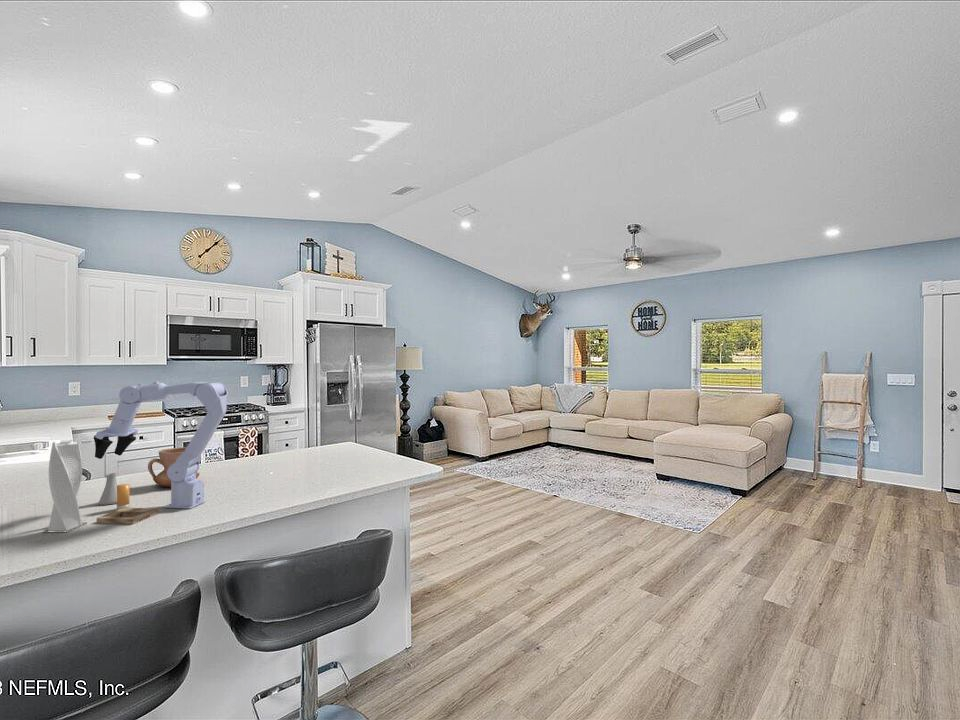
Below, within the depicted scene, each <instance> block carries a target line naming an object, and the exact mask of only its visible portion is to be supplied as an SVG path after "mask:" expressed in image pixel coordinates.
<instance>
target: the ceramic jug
mask: <svg viewBox="0 0 960 720" xmlns="http://www.w3.org/2000/svg"><path fill="white" fill-rule="evenodd" d="M186 448H187V446H185V447H184V446H183V447H174V448H164V449H161V450H158V457H159V458H153V459H151V460H150V461H148V463H147V470H148V472H149V474H150V476H151V477H152V481H154V483H155V484H156V485H158V486H160V487H164V488H171V479H170V478H169V477H168V475H167V470H168V468H169V466H170V465H172V464H173V463H175V462H176V460H177V458H178V457H179V456H180V455H182V454H183V453H184V451H185V450H186ZM154 463H157V464H159V465H162V466H163V470H162V471H160V472H159V473H158V474H156V473H155V472H154V470H153V464H154ZM199 476H200V472H198V471H197V472H196V479H198V478H199Z"/></svg>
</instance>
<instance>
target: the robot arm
mask: <svg viewBox="0 0 960 720" xmlns="http://www.w3.org/2000/svg"><path fill="white" fill-rule="evenodd" d="M178 394H181V395H182V394H191V396H193V397H196V398H197V400H199V401H200V403H201V404H202V405H203V407H204V408H205V409H206V412H207V413H206V415H205V416H204V417H203V419H202V421H201V423H200V425H199V427H198V428H197V430H196V431H195V433H194V435H192V437H191V440H190V442H189V443H188V444H187V446H186V447H187V448H186V450H185V451H184V453H183V454H182V455H180V456H179V457H178V458H177V460H176V462H175V463H173V464H172V465H170V466H169V468H168V470H167V475H168V477H169V478H170V479H171V487H170V495H171V496H170V504H167V505H165V506H164V508H166V509H170V508H171V509H192V508H195V507H196V506H199V505H201V504H204V503H205V502H206V500H205V484H204V481H203V480H201V479H198V478H197V479H196V472H198V471H199V470H200V462H202V461H201V460H202V454H203V453H204V450H205V449H206V447H207V446H208V445H209V442H210V441H211V439H212V437H213V436H214V434H215V432H216V430H218V427H219V425H220V424H221V422H222V420H223V418H224V417H225V415H226V413H227V409H228V408H227V405H228V404H227V401H228V400H227V397H228V396H229V392H228V390H227V388H226V386H225V384H223V383H222V382H220V381H213V382H211V381H193V382H187V383H179V384H172V385H167V384H165V383H164V382H160V381H152V383H147V384H144V383H138V385H127V386H125V387H123V388H122V389H120V391H119V395H118V397H119V398H120V399H119V400H120V401H119V403H118V405H117V408H116V410H115V412H114V414H113V417H112V419H111V422H110V425H109V426H106V428H105V429H103V430H101V431H97V432H96V434H95V435H93V440H94V441H93V442H94V445H95V446H94V447H95V448H94V449H95V451H94V457H95V458H97V459H100V460H101V459H103V458H104V456H105V454H106V453H107V450H108V449H109V447H110V446H111V445H112V444H113V443H114V441H113V440H111V439H110V438H115V437H117V442H116V447H115V449H114V454H115V455H117V456H119V457H120V456H122V455H123V453H124V452H125V451H126V449H127V448H128V447H129V446H130V445H131V444H132V443H133V442H134V441H136V440H137V437H136V435H137V434H138V431H139V430H138V429H137V428H134V427H133V428H132V426H133V422H134V420H135V417H136V415H137V413H138V412H139V411H138V410H139V408H140V406H141V403H143V402H149V401H158V400H160V401H161V400H165V399H166V398H167V397H168V396H169V395H178Z"/></svg>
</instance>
